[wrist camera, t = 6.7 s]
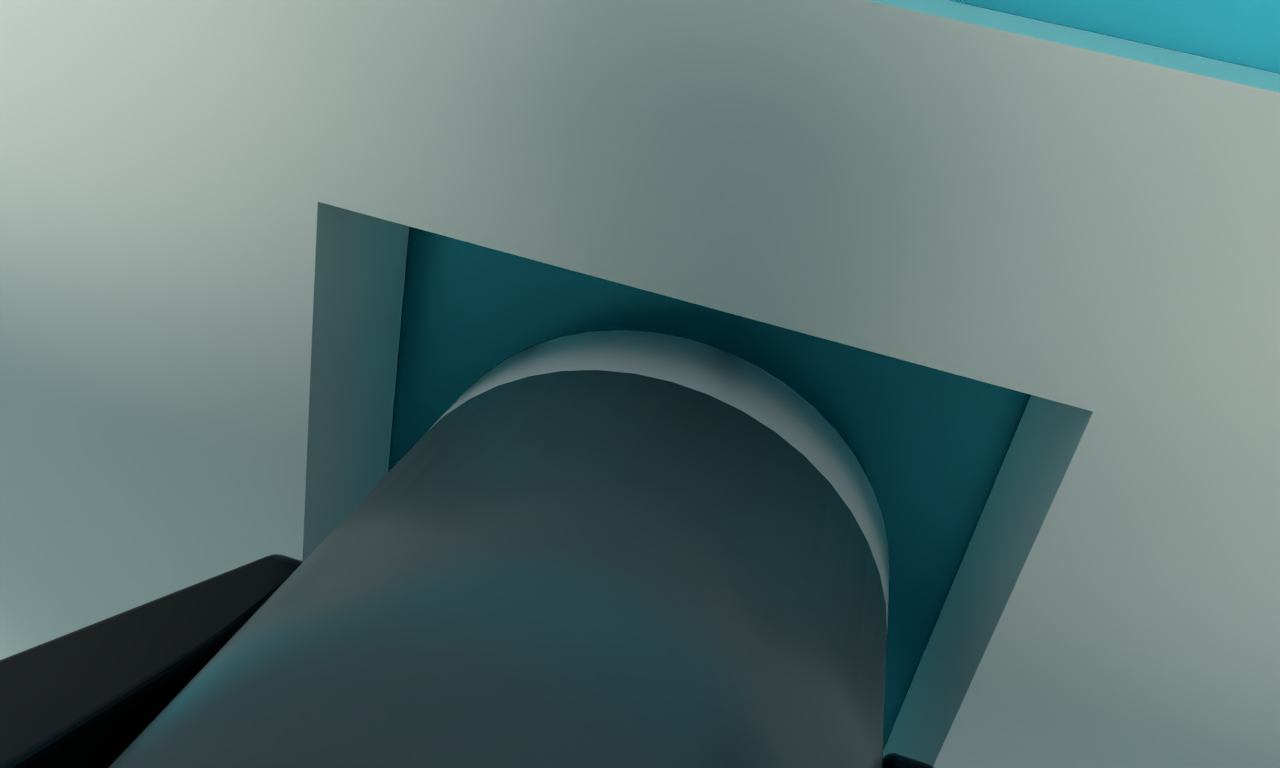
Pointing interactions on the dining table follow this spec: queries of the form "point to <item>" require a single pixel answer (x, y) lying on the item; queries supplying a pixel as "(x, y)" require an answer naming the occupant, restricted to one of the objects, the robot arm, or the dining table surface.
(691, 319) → the dining table surface
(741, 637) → the lens
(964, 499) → the dining table surface
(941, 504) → the dining table surface
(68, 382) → the panel with square recess
